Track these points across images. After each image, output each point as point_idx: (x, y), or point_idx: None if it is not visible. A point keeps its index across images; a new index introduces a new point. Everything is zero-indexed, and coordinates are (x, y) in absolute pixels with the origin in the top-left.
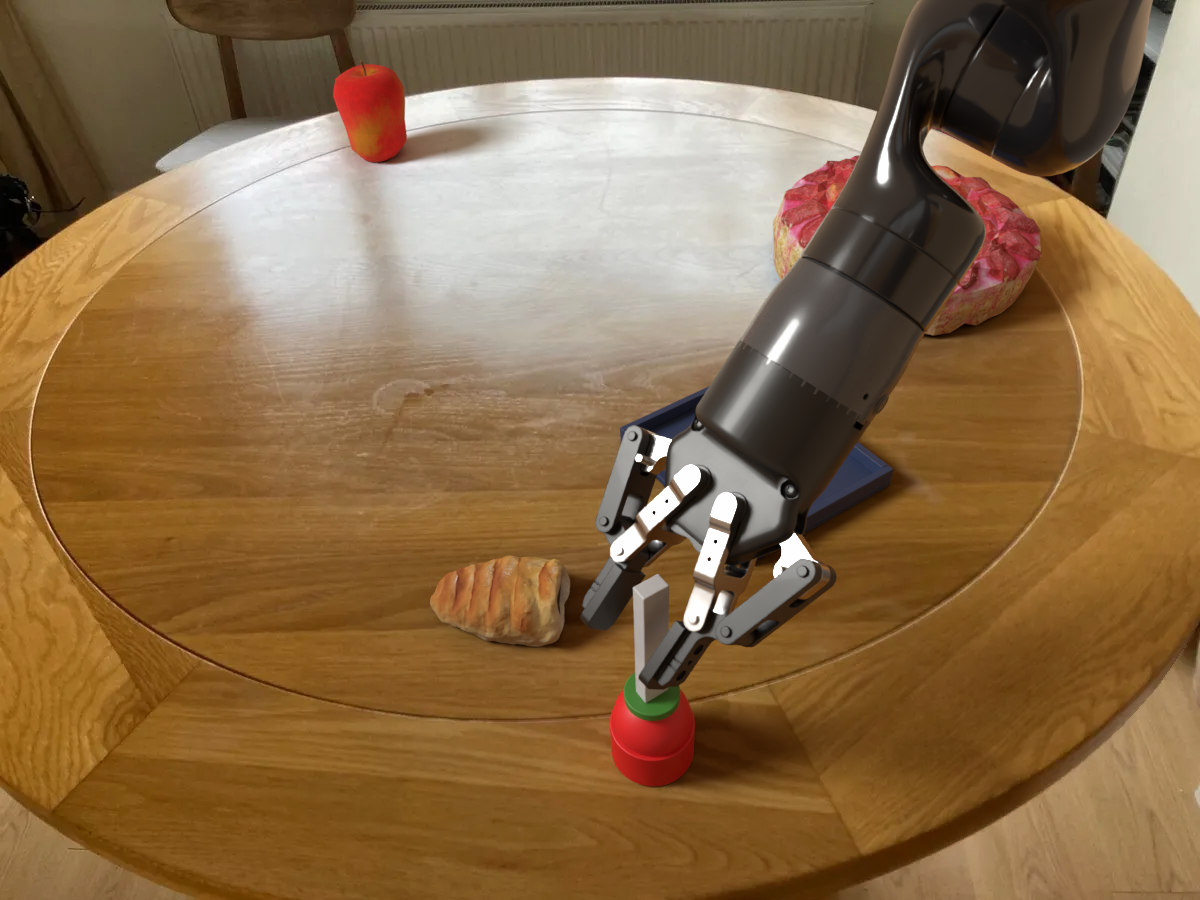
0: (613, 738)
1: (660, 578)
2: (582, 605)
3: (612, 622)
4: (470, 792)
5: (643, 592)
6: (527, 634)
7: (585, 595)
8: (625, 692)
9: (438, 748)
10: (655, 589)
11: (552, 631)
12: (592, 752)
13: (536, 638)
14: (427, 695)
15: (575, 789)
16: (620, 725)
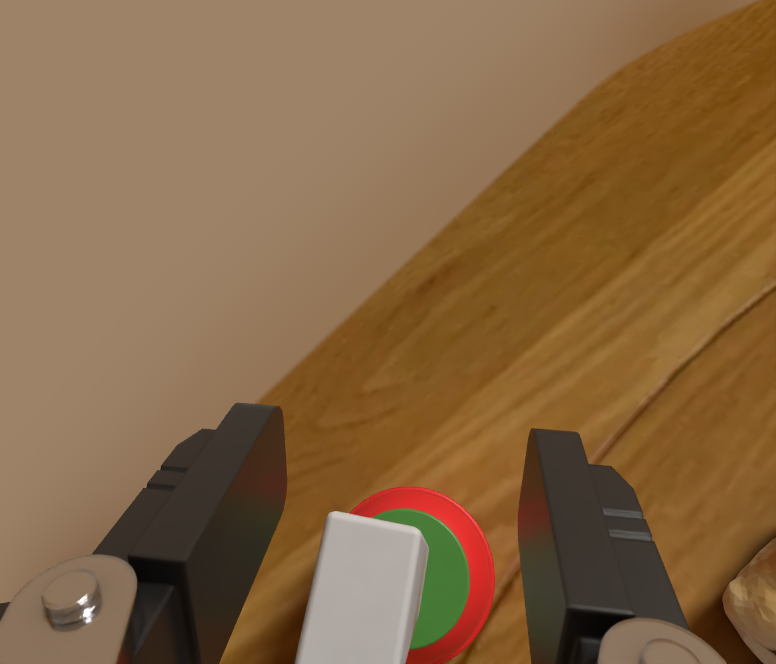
0: (437, 492)
1: None
2: (610, 466)
3: (520, 536)
4: (553, 309)
5: (356, 541)
6: (766, 555)
7: (633, 492)
8: (443, 527)
9: (650, 316)
10: (323, 601)
11: (742, 603)
12: (480, 489)
13: (749, 570)
14: (756, 357)
15: (448, 423)
16: (424, 496)
